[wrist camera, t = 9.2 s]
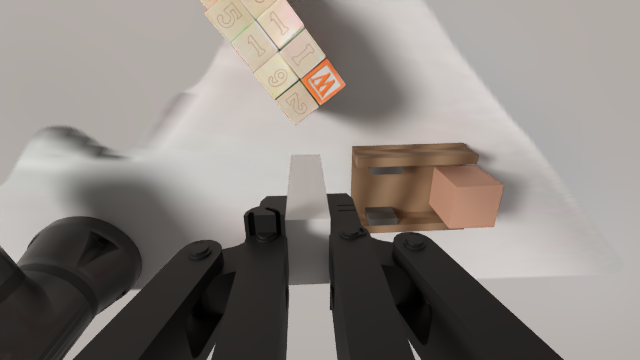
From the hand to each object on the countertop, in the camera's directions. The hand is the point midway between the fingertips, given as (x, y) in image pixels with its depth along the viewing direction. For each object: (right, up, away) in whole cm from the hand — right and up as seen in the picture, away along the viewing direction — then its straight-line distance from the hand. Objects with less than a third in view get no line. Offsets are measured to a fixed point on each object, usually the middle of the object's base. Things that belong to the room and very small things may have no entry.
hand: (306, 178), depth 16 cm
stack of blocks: (-6, +19, +20) cm, 29 cm away
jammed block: (+20, -1, +29) cm, 35 cm away
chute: (+13, -1, +30) cm, 33 cm away
